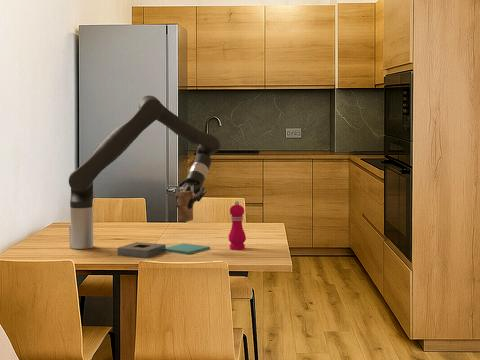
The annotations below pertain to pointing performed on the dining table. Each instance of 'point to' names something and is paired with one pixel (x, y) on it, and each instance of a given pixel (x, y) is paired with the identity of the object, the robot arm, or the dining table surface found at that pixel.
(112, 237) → the dining table surface
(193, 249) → the teal mat
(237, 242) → the pepper mill
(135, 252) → the socket block
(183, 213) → the walnut peg
